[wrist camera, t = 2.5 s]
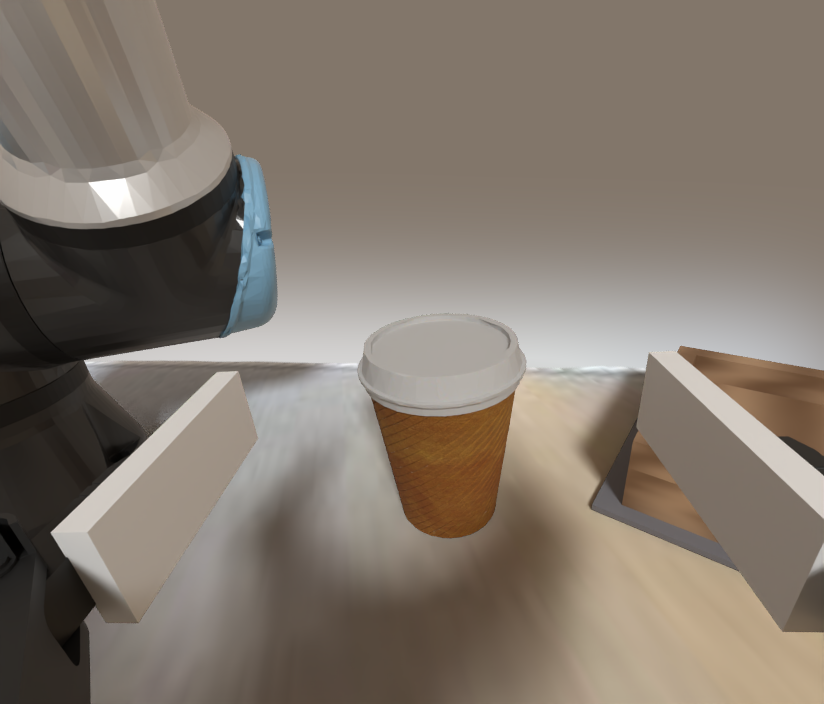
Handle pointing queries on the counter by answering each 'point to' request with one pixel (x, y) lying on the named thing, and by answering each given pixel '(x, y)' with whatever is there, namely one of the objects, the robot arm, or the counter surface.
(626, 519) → the mat
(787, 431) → the crate
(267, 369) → the counter surface
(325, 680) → the counter surface
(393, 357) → the disposable coffee cup
